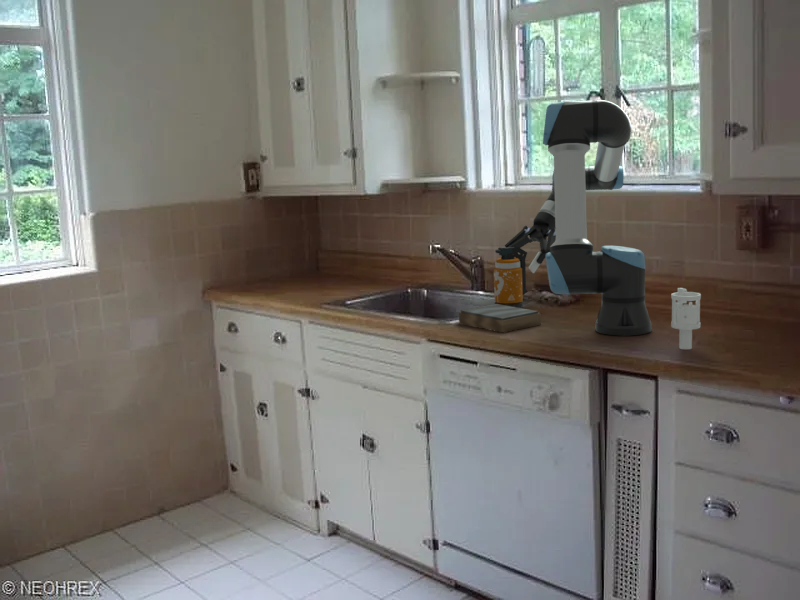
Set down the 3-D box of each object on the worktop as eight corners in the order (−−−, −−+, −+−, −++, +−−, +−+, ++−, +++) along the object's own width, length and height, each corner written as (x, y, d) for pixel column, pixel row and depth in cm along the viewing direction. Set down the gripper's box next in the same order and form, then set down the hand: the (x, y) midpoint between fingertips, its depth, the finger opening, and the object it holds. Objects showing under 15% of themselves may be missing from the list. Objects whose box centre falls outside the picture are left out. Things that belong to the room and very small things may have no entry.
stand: (540, 324, 270) (540, 311, 269) (502, 332, 261) (502, 318, 260) (496, 316, 285) (496, 303, 284) (459, 323, 276) (458, 310, 276)
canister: (489, 307, 299) (488, 246, 296) (519, 303, 304) (518, 243, 300) (503, 312, 291) (501, 248, 288) (533, 308, 295) (532, 245, 292)
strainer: (692, 344, 238) (692, 286, 236) (705, 350, 231) (706, 290, 229) (666, 346, 237) (666, 288, 234) (678, 352, 230) (679, 292, 228)
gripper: (583, 227, 296) (550, 279, 290) (528, 223, 316) (496, 272, 310) (571, 211, 292) (537, 264, 286) (516, 208, 312) (484, 258, 306)
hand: (516, 268), depth 298 cm, fingers open, 13 cm apart
